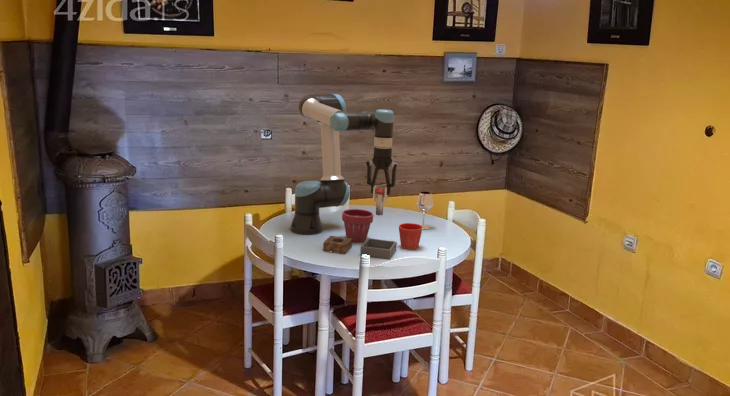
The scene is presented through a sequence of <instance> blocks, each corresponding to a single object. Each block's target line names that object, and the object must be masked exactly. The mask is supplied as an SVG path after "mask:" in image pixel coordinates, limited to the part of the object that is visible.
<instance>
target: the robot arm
mask: <svg viewBox="0 0 730 396" xmlns="http://www.w3.org/2000/svg"><path fill="white" fill-rule="evenodd" d="M346 105H347V104H346V102H345V100H344V98H343V97H342V96H341V95H340V94H337V93H307V94H306V95H304V96H301V98H300V100H299V101H298V104H297V110H298V113H299V114H300V116H301V117H303V118H304V119H307V120H315V121H317V124H318V125H320V133H321V136H320V137H321V138H320V139H321V156H322V159H321V160H322V177H321V178H320V181H319V180H304V181H300V182H299V183H297V184H296V186H295V190H294V215H293V218H292V221H291V223H290V231H291V232H292V233H295V234H297V235H316V234H320V233H322V232H323V224H322V220H321V216H320V209H323V208H334V207H336V208H337V207H340V206H344V205H346V204H347V202H348V200H349V198H350V194H351V192H350V191H351V190H350V185H349V184H348V182H346V181H345V178H344V176H342V170H341V169H342V168H341V148H340V147H341V145H340V144H341V143H340V132H345V131H346V132H347V131H373V132H374V138H373V139H374V140H373V141H374V142H373V146H374V148H373V157H372V159H371V160H367V161H366V162H365V164H366V166H367V168H366V184H367V185H369V186H370V194H372V203H374V202H376V201H377V193H376V192H375V189H377V188H378V186H377V185H376V183H377V180H378V179H377V178H378V176H379V172H380V170H383V172H384V177H385V183H386V186H385V187H384V189H385V193H384V202H383V204H387V203H388V200H389V199H388V198H389V196H390V194H391V188H394V187H395V185H396V179H397V169H398V165H399V163H398V162H394V161H393V159H392V157H393V156H392V154H393V153H392V152H393V148H392V147H393V135H394V124H395V123H394V122H395V119H394V116H395V115H394V114H395V113H394V111H393V110H391V109H376V111H375V112H372V111H363V112H347V106H346ZM372 165H374V167H375V168H374V172H373V176H372V169H373V168H372ZM390 166H391V168H392V169H391V170H392V171H391V176H390V170H389V168H390ZM390 177H391V178H390Z"/></svg>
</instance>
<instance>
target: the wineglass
mask: <svg viewBox="0 0 730 396" xmlns="http://www.w3.org/2000/svg"><path fill="white" fill-rule="evenodd" d="M416 206H417V208H418V209H419V211H420V212H421V213H422V224H420V225H421V226H422V227H423V228H422V230H430V226H428V225H425V218H426V217H425V216H426V213H428V212H429V211H430V210H431V209H432V208H433V206H434V200H433V194H432V192H431V191H420V192H419V194H418V197H417V200H416Z"/></svg>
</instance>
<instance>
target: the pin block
mask: <svg viewBox="0 0 730 396" xmlns="http://www.w3.org/2000/svg"><path fill="white" fill-rule="evenodd" d="M322 245H323V247H322V251H323V250H324V251H323V252H327V251H332V252H331V253H335V252H337V253H336V254H342V253H343V255H345V254H347V253H348V250H350V249H351V248H352V245H353V242H352V238H346V237H343V236H335V235H329V237H328V238H326V239H325V240H324V241H323V244H322Z"/></svg>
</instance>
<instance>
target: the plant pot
mask: <svg viewBox="0 0 730 396" xmlns="http://www.w3.org/2000/svg"><path fill="white" fill-rule="evenodd" d="M341 220H342V221H343V224H344V229H345V238H352V243H362V242H363V243H364V242H365V241H366V240H367V239H368V234H369V232H370V227H371V224H372V223H373V221H374V213H373V212H372V211H370V210H367V209H358V208H350V209H345V210H343V211H342V214H341Z"/></svg>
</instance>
